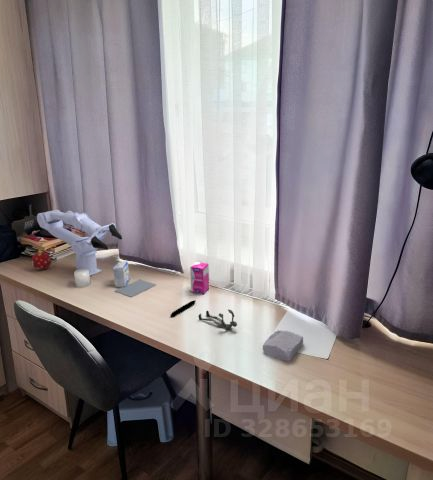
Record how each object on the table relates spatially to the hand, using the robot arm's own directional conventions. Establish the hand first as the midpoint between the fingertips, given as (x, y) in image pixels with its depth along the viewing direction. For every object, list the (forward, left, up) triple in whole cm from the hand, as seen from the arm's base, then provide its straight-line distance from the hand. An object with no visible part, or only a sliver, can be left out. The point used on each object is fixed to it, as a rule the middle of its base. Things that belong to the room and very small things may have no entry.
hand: (114, 242), depth 166 cm
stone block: (+81, -5, -19) cm, 83 cm away
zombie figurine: (+57, -5, -19) cm, 60 cm away
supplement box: (+35, +13, -18) cm, 42 cm away
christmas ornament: (-42, -10, -18) cm, 47 cm away
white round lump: (-11, -10, -18) cm, 24 cm away
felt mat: (+11, 0, -18) cm, 21 cm away
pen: (+40, -3, -19) cm, 44 cm away
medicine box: (+3, 0, -18) cm, 18 cm away
